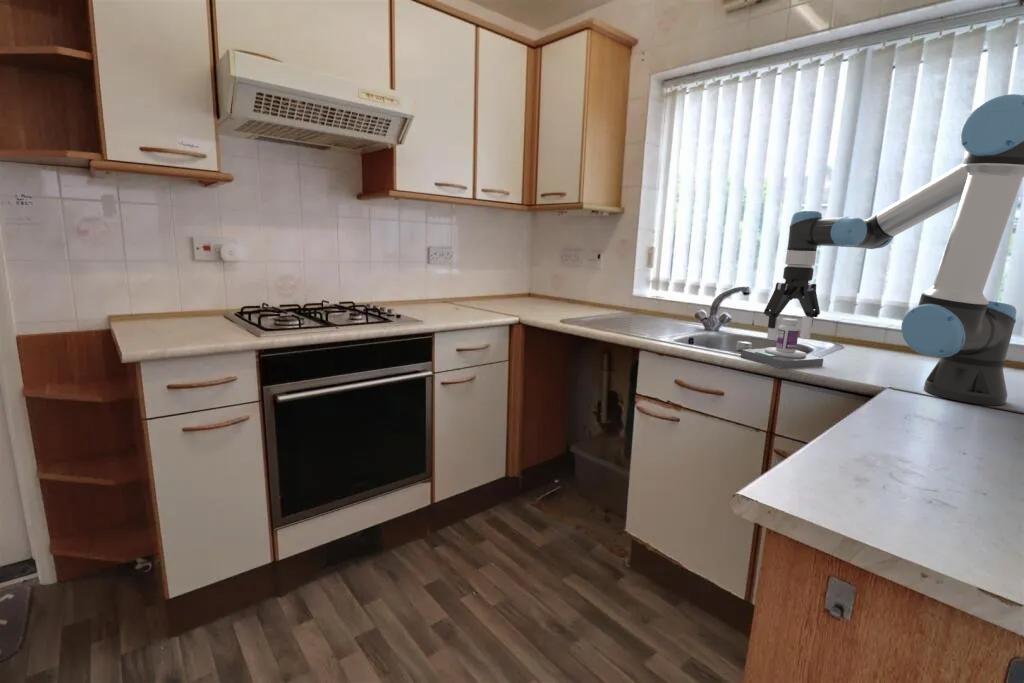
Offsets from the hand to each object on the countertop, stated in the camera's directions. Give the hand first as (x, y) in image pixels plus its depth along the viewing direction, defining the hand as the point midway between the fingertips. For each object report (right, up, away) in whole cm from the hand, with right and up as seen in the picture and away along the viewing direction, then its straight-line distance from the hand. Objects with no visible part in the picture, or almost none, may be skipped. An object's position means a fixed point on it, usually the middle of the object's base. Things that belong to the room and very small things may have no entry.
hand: (788, 338), depth 154 cm
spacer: (-7, -4, +14) cm, 16 cm away
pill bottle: (0, -4, +1) cm, 4 cm away
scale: (-2, -7, +1) cm, 7 cm away
